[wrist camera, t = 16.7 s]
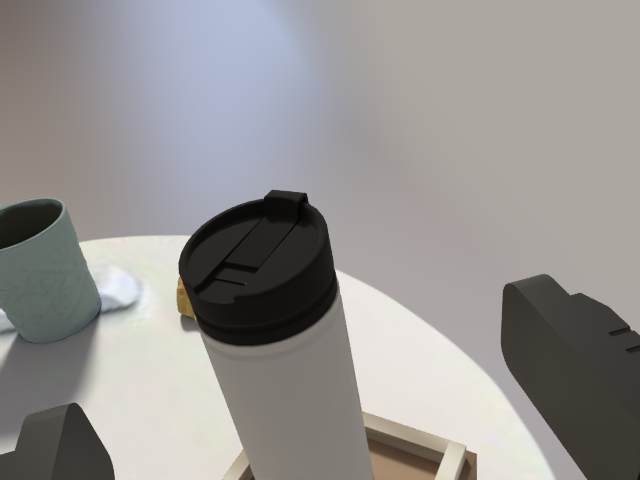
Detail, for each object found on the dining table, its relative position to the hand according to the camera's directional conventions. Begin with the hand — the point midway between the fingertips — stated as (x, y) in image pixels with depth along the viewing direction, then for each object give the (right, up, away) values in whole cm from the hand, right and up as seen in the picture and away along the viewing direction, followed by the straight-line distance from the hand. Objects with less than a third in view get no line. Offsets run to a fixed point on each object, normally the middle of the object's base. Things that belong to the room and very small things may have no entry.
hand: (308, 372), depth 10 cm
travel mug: (+1, -14, +22) cm, 26 cm away
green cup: (-27, -6, +48) cm, 56 cm away
